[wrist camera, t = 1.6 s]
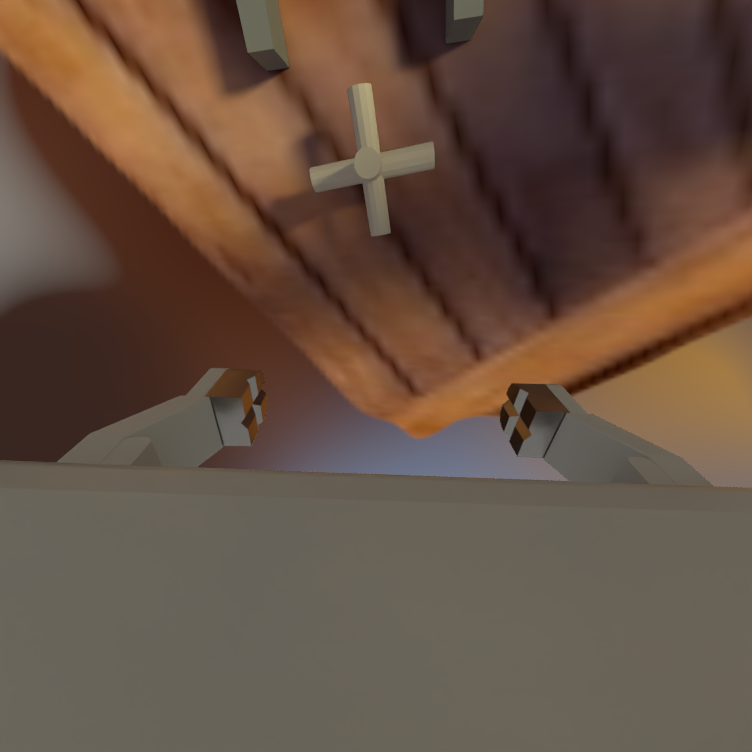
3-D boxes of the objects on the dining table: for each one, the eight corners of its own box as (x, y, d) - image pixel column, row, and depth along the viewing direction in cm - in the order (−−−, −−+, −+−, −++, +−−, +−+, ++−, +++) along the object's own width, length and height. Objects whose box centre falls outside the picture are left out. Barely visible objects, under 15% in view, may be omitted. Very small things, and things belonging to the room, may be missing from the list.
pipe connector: (336, 236, 33) (316, 252, 24) (310, 117, 28) (273, 83, 19) (431, 219, 31) (445, 229, 23) (422, 90, 26) (436, 42, 18)
